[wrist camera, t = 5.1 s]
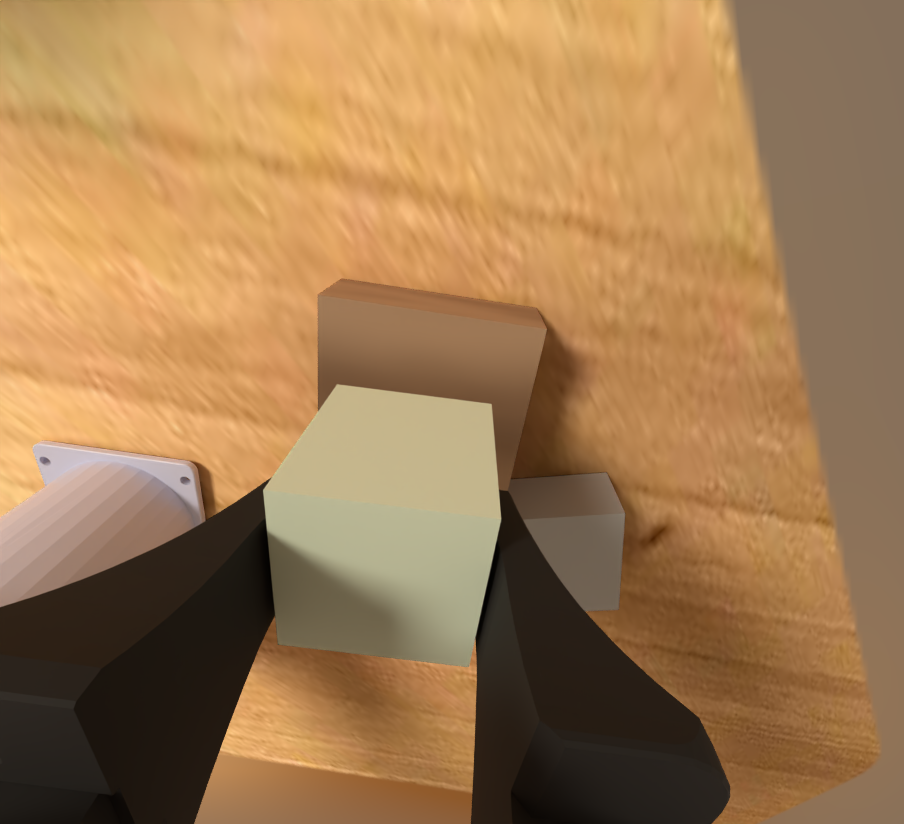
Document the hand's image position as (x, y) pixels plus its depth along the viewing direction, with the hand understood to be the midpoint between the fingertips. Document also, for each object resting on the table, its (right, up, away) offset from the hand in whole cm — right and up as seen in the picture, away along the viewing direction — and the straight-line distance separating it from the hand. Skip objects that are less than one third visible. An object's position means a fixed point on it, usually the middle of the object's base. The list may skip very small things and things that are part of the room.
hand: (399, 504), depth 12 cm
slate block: (+6, -3, +11) cm, 13 cm away
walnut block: (0, +4, +8) cm, 8 cm away
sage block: (0, +1, +2) cm, 2 cm away
